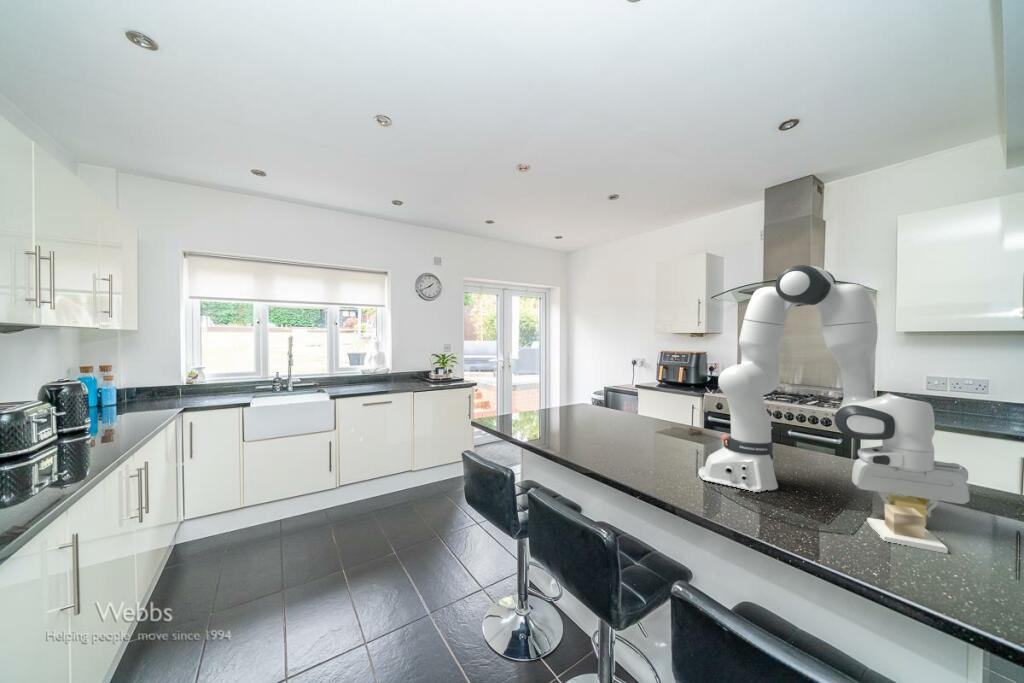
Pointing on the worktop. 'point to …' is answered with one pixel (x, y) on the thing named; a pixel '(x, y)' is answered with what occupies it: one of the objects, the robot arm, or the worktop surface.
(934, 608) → the worktop surface
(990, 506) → the worktop surface
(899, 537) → the plate
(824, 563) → the worktop surface
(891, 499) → the mustard brick
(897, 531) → the beech brick
